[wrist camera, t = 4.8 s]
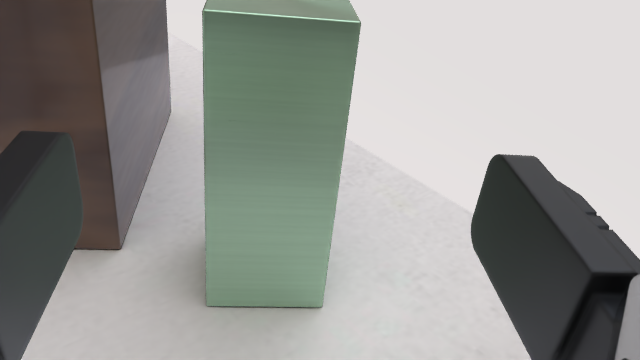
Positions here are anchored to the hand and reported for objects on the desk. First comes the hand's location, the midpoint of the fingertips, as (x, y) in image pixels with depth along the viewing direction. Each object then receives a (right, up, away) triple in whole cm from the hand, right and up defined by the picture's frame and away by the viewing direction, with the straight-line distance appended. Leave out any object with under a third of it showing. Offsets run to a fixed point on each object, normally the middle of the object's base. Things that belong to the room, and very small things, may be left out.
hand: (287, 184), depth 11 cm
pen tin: (-2, -4, +12) cm, 12 cm away
